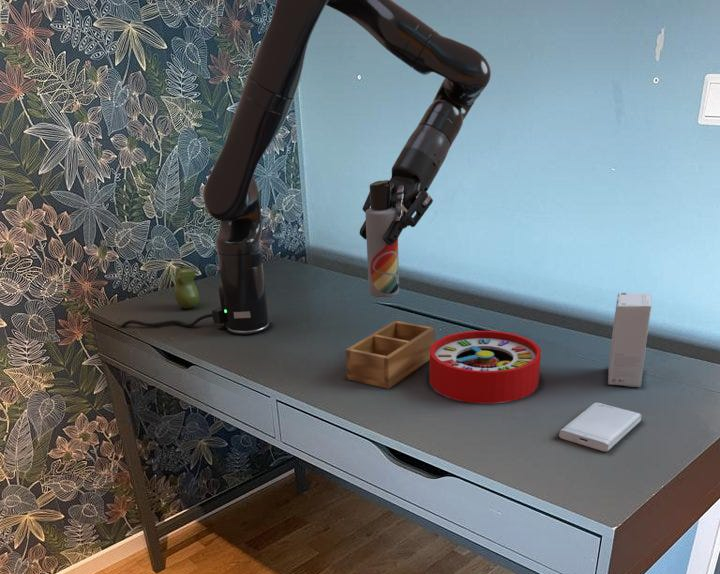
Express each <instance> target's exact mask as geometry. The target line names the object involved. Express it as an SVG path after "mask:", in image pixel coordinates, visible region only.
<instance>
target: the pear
mask: <svg viewBox="0 0 720 574" xmlns="http://www.w3.org/2000/svg"><path fill="white" fill-rule="evenodd" d="M195 278H196V273H195V271H194V270H193V269H192V268H190V267H189V266H188V265H179V267H178V268H176V271H175V273H174V280H175V284H174V297H175V300H176V303H177V304H178V305H179V306H180V307H181V308H183V309H186V310H187V309H189V310H190V309H193V308H195V307H197V305H198V304H199V302H200V294H199V289H198V287H197V286H196V283H195Z"/></svg>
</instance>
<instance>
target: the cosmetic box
mask: <svg viewBox="0 0 720 574" xmlns="http://www.w3.org/2000/svg"><path fill="white" fill-rule="evenodd" d="M651 311H652V294H651V293H647V292H635V293H634V292H618V293H617V299H616V306H615V311H614V319H613V326H612V333H611V334H612V335H611V341H610V342H611V343H610V351H609V357H608V358H609V359H608V372H607V373H608V375H607V377H608V378H607V379H608V380H607V384H608V385H611V386H612V385H613V386H624V387H631V388H641V387H642V379H643V372H644V363H645V357H646V350H647V349H646V348H647V340H648V334H649V327H650V318H651Z"/></svg>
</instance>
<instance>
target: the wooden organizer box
mask: <svg viewBox="0 0 720 574" xmlns="http://www.w3.org/2000/svg"><path fill="white" fill-rule="evenodd" d="M435 342H436V328H435V327H432V326H427V325H421V324H416V323H410V322H406V321H405V322H404V321H401V320H393V321H391V322H389V323H387V324H386V325H384V326H383V327H381V328H380V329H378V330H376V331H374V332H373V333H371V334H369V335H368V336H366V337H364V338H363V339H361V340H360V341H357V342H356V343H354V344H353V345H351V346H350V347H348V348H346V349H345V357H346V359H345V360H346V361H345V362H346V375H347V380H348V381H349V380H350V381H353V382H358V383H360V384H361V383H362V384H365V385H371V386H374V387H379V388H383V389H388V390H390V389H392V387H393V386H395V385H397V384H398V383H399V382H401V381H402V380H404V379H405V378H407V377H408V376H409V375H411V374H412V373H413V372H415V371H416V370H418V369H419V368H421V367H422V366H423V365H425V364H426V363H428V362H430V348H431V346H432V345H433V343H435Z"/></svg>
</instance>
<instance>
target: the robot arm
mask: <svg viewBox="0 0 720 574" xmlns="http://www.w3.org/2000/svg"><path fill="white" fill-rule="evenodd" d="M326 6H327V7H329V8H330V9H331V8H332V9H334V10H335V11H337V12H339V13H341V14H343V15H345V16H346V17H348V18H349V19H351V20H352V21H354V22H355V23H356V24H357V25H359V26H360V27H361V28H363V29H364V30H365V31H366V32H367V33H368V34H369V35H371V37H373V38H374V40H376V41H377V42H378V43H379V44H380V45H381V46H382V47H383V48H385V50H387V51H388V52H389V53H391V54H392V55H393V56H394V57H395V58H397V59H398V60H400V61H401V62H402V63H404V64H405V65H406V66H408V67H410V68H411V69H413V70H414V71H415V72H417V73H419V74H420V75H423V76H428V75H429V74H432V73H434V74H437V75H439V76H441V77H443V81H442V82H441V85H440V86H439V88H438V90H437V92H436V94H435V97H434V99H433V100H432V102H431V104H429V106H428V108H427V109H426V111H425V112H424V114H423V115H422V118H421V119H420V121H419V123H418V125H417V127H416V128H415V129H414V130H413V131H412V133H411V135H410V136H409V137H408V139H407V141H406V143H405V145H404V146H403V148H402V150H401V151H400V152H399V155H398V156H397V158H396V160H395V162H394V163H393V165H392V167H391V176H390V179H388V180H389V182H390V183H391V196H392V207H394V208H396V216H395V220H396V221H392V223H391V225H390V227H389V228H388V230H387V232H386V234H385V235H384V237H383V240H384V241H385V242H386V243H387V244H388V245H390V246H392V245H393V244H394V243H395V242H396V240H397V239H398V240H399V237H400V235H401V234H402V232H403V230H405V229H406V228H407V227H411V228H414V227H416V225H417V224H418V223H419V222H420V220H421V219H422V218H423V216H424V215H425V213H426V212H427V210H428V209H429V208H430V206H431V205H432V204H433V202H434V199H433V198H432V197H431V195H430V194H429V193H428V191H429V189H430V188H431V185H432V183H433V182H434V180H435V178H436V176H437V175H438V173H439V171H440V170H441V168H442V166H443V165H444V162H445V161H446V159H447V157H448V154H449V152H450V150H451V147H452V146H453V144H454V142H455V141H456V139H457V137H458V135H459V133H460V131H461V129H462V127H463V125H464V124H463V123H464V121H465V119H466V117H467V115H468V114H469V112H470V110H471V109H472V107H473V106H474V105H475V103H476V101H477V100H478V99H479V97H480V96H481V95H482V93H483V92H484V91H485V89H486V88H487V87H488V85H489V83H490V80H491V76H492V71H491V67H490V65H489V62H488V61H487V59H486V58H485V56H484V55H482V54H481V52H480V51H478V50H476V49H475V48H473V47H472V46H470V45H468V44H464V43H462V42H459V41H457V40H454V39H452V38H450V37H446V36H444V35H442V34H440V33H439V32H438V31H436V30H435V29H434V28H433V27H431V26H429V25H428V24H427V23H426V22H424V21H422V20H421V19H420V18H419V17H417V16H415V15H414V14H412V13H411V12H410V11H408V10H407V9H405V8H404V7H402V5H401V6H400V5H399V4H397V3H396V2H395V1H393V0H276V3H275V7H274V10H273V13H272V17H271V20H270V22H269V25H268V27H267V29H266V31H265V34H264V36H263V37H262V40H261V42H260V44H259V47H258V50H257V51H256V55H255V56H254V59H253V62H252V63H251V66H250V68H249V71H248V73H247V76H246V80H245V82H244V85H243V88H242V91H241V94H240V97H239V100H238V104H237V106H236V109H235V111H234V115H233V117H232V120H231V123H230V126H229V129H228V133H227V136H226V138H225V139H226V140H225V142H224V145H223V147H222V149H221V151H220V154H219V155H218V158H217V160H216V162H215V164H214V166H213V168H212V170H211V172H210V174H209V176H208V178H207V180H206V182H205V185H204V187H203V203H204V206H205V208H206V209H205V210H206V211H207V212H208V214H209V215H210V216H211V217H212V218H213V219H215V220H217V221H219V228H218V233H217V235H216V238H215V248H216V255H217V262H218V269H219V277H220V284H221V285H219V286H218V295H219V302H220V306H219V307H216V308H214V309H212V310H211V313H208V314H204V315H201V316H199V317H197V318H196V319H195V320H193V321H192V322H190V323H185V322H183V321H181V320H177V319H176V320H175V319H173V320H164V321H159V322H145V321H140V320H136V319H135V320H134V319H130V320H126V321H124V322H123V323H122V324H121V325H120V328H126V326H128V325H130V324H134V325H139V326H142V327H143V326H144V327H160V326H161V327H162V326H167V325H174V324H175V325H180V326H183V327H185V328H192V327H193V326H195V325H197V324H199V322H201V321H203V320H205V319H209V318H212V321H213V324H217V325H222V324H223V329H225V330H227V332H229V333H231V334H234V335H242V336H243V335H245V336H246V335H254V334H258V333H261V332H264V331H266V330H267V329H268V328H269V327H270V321H269V316H268V315H269V313H268V304H267V294H266V285H265V276H264V275H265V274H264V266H263V259H262V248H261V236H262V231H263V229H262V228H263V225H262V210H261V199H260V198H261V197H260V191H259V187H258V184H257V181H256V179H255V177H254V174H255V172H256V169H257V167H258V165H259V163H260V161H261V159H262V157H263V156H264V154H265V153H266V152H267V150H268V148H269V147H270V145H271V144H272V142H273V141H274V139H275V138H276V136H277V135H278V134H279V132H280V130H281V128H282V126H283V125H284V123H285V121H286V120H287V117H288V115H289V112H290V109H291V107H292V104H293V102H294V100H295V97H296V95H297V92H298V89H299V86H300V82H301V78H302V74H303V69H304V63H305V59H306V53H307V48H308V45H309V42H310V39H311V36H312V34H313V32H314V29H315V27H316V25H317V23H318V21H319V19H320V17H321V15H322V13H323V11H324V9H325V7H326ZM369 208H371V205H370V191H369V192H368V194H367V197H366V199H365V202H364V204H363V206H362V211H363V212H364V213H365V214H366V210H367V209H369ZM359 236H360V237H362V239H364V240H366V241H367V239H366V219H365V220H364V221H363V224H362V225H361V226H360V228H359ZM128 409H129V413H130V418H131V422H132V427H133V432H134V433H133V434H134V437H138V436H139V434H138V428H137V422H136V419H135V413H134V409H133V406H132V405H128Z"/></svg>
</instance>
